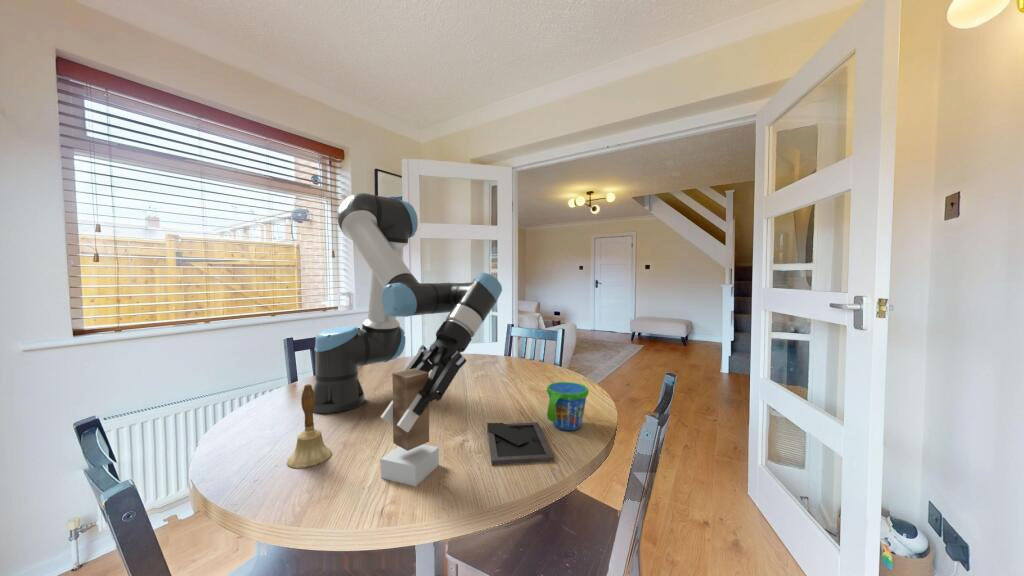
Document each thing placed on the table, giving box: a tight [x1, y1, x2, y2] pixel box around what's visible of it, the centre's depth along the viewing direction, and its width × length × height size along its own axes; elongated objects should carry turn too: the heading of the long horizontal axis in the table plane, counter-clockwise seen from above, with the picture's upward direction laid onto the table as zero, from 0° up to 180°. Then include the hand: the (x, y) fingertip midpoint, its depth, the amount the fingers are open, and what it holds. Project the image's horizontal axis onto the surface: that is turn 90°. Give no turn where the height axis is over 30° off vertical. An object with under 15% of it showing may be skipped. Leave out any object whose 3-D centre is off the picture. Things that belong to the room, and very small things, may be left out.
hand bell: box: [286, 383, 333, 469], centre depth 74 cm, size 8×8×16 cm
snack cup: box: [546, 381, 590, 431], centre depth 91 cm, size 16×10×10 cm
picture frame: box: [486, 421, 555, 466], centre depth 81 cm, size 13×2×18 cm
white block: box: [380, 443, 440, 487], centre depth 70 cm, size 8×8×4 cm
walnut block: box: [391, 368, 430, 451], centre depth 69 cm, size 5×5×14 cm
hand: (394, 424), depth 66 cm, fingers closed on walnut block, 5 cm apart
